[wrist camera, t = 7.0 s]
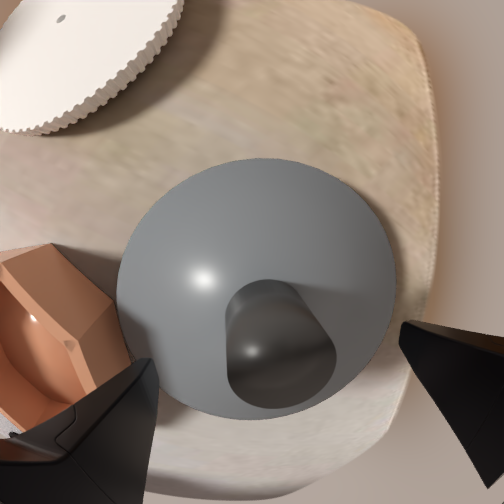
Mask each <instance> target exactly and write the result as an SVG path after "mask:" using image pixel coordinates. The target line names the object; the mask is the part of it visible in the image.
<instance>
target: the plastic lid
mask: <svg viewBox="0 0 504 504" xmlns="http://www.w3.org/2000/svg"><path fill="white" fill-rule="evenodd" d="M182 5H184V0H23V1H22V2H21V3H20V4H19V6H18V7H17V8H15V9H14V12H13V13H12V14H11V15H10V16H9V17H8V20H7V21H6V22H5V23H4V24H3V27H2V28H1V29H0V130H3V131H5V132H10V133H15V134H19V135H24V136H27V135H29V136H34V135H38V136H40V135H42V133H44V134H49V133H50V131H54V132H56V131H58V130H59V128H60V127H61V128H66V127H68V124H69V123H72V124H75V123H77V120H78V119H79V118H82V119H84V118H86V117H87V114H88V113H89V112H92V113H94V112H95V111H97V107H98V106H100V105H102V106H104V105H105V104H107V100H108V99H109V98H114V97H116V96H117V92H118V91H119V90H124V89H125V88H126V87H127V83H128V82H130V81H132V82H133V81H134V80H135V79H136V78H137V77H136V75H137V74H138V73H139V72H141V73H142V72H143V71H144V70H145V66H146V65H147V64H148V63H149V64H150V63H152V61H153V60H154V59H153V57H154V55H156V54H159V53H160V52H161V49H160V48H161V46H164V45H166V43H167V37H171V36H172V34H173V32H172V29H173V28H176V27H177V20H180V18H181V15H180V12H183V6H182Z"/></svg>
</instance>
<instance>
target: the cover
mask: <svg viewBox="0 0 504 504" xmlns="http://www.w3.org/2000/svg"><path fill="white" fill-rule="evenodd" d="M116 294H117V311H118V316H119V321H120V326H121V329H122V332H123V335H124V338H125V341H126V343H127V345H128V347H129V349H130V351H131V353H132V355H133V357H134V358H135V360H136V361H137V360H138V359H140V358H152V359H153V360H154V363H155V366H156V370H157V373H158V376H159V387H160V388H161V389H162V390H163V391H165V392H166V393H167V394H169V395H170V396H172V397H173V398H175V399H176V400H178V401H179V402H181V403H183V404H185V405H187V406H189V407H191V408H193V409H196V410H199V411H201V412H204V413H207V414H210V415H214V416H219V417H223V418H230V419H238V420H262V419H272V418H277V417H282V416H287V415H290V414H294V413H297V412H300V411H303V410H305V409H308V408H310V407H312V406H315V405H317V404H319V403H321V402H322V401H324V400H326V399H328V398H329V397H331V396H332V395H334V394H335V393H337V392H338V391H340V390H341V389H342V388H344V387H345V386H346V385H347V384H348V383H350V382H351V381H352V380H353V379H354V378H355V377H356V376H357V375H358V374H359V373H360V372H361V371H362V370H363V369H364V367H365V366H366V365H367V364H368V362H369V361H370V360H371V358H372V357H373V356H374V354H375V352H376V351H377V349H378V347H379V346H380V344H381V342H382V340H383V338H384V336H385V333H386V331H387V329H388V326H389V323H390V320H391V317H392V313H393V309H394V303H395V297H396V269H395V262H394V257H393V253H392V248H391V245H390V243H389V240H388V237H387V235H386V232H385V230H384V229H383V227H382V225H381V223H380V221H379V219H378V218H377V216H376V215H375V213H374V212H373V211H372V210H371V208H370V207H369V206H368V204H367V203H366V202H365V201H364V200H363V199H362V198H361V197H360V196H359V195H358V194H357V193H356V192H355V191H354V190H353V189H351V188H350V187H349V186H347V185H346V184H344V183H343V182H342V181H340V180H339V179H337V178H336V177H334V176H332V175H330V174H328V173H326V172H324V171H322V170H320V169H317V168H314V167H311V166H308V165H305V164H302V163H299V162H293V161H288V160H282V159H262V158H255V159H247V160H239V161H232V162H229V163H225V164H221V165H218V166H214V167H211V168H209V169H207V170H204V171H202V172H200V173H198V174H195V175H193V176H191V177H189V178H188V179H186V180H185V181H183V182H181V183H180V184H178V185H177V186H175V187H174V188H172V189H171V190H170V191H169V192H167V193H166V194H165V195H164V196H163V197H162V198H161V199H159V200H158V201H157V202H156V203H155V204H154V205H153V206H152V208H151V209H150V210H149V211H148V212H147V213H146V215H145V216H144V217H143V218H142V219H141V221H140V223H139V224H138V226H137V227H136V229H135V231H134V232H133V234H132V236H131V237H130V240H129V242H128V244H127V247H126V249H125V252H124V254H123V257H122V261H121V265H120V269H119V273H118V281H117V291H116Z"/></svg>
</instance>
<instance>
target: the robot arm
mask: <svg viewBox="0 0 504 504" xmlns="http://www.w3.org/2000/svg"><path fill="white" fill-rule="evenodd" d="M399 346H400V348H401V350H402V352H403V353H404V355H405V357H406V359H407V360H408V362H409V364H410V366H411V368H412V369H413V371H414V373H415V375H416V376H417V378H418V379H419V380H420V382H421V383H422V385H423V386H424V388H425V389H426V390H427V392H428V393H429V395H430V396H431V398H432V399H433V401H434V402H435V404H436V405H437V407H438V408H439V410H440V411H441V413H442V414H443V416H444V417H445V419H446V420H447V422H448V423H449V425H450V426H451V428H452V430H453V431H454V433H455V434H456V436H457V438H458V439H459V441H460V443H461V444H462V446H463V447H464V449H465V450H466V453H467V454H468V456H469V458H470V459H471V461H472V463H473V465H474V467H475V468H476V470H477V472H478V474H479V475H480V477H481V479H482V481H483V483H484V484H485V486H486V487H487V489H489V488H490V487H491V486H492V485H493V484H494V483H495V482H496V481H497V480H499V479H500V478H501V477H502V476H503V475H504V337H499V336H493V335H486V334H482V333H476V332H470V331H465V330H460V329H455V328H450V327H445V326H440V325H435V324H430V323H426V322H421V321H416V320H408V321H405V322H403V323H402V325H401V330H400V336H399ZM158 394H159V376H158V373H157V370H156V366H155V363H154V360H153V359H152V358H140V359H138V360H137V361H135V362H134V363H133V364H131V365H130V366H128V367H127V368H125V369H124V370H123V371H121V372H120V373H118V374H117V375H115V376H114V377H112V378H111V379H109V380H108V381H107V382H105V383H104V384H102V385H101V386H99V387H98V388H96V389H95V390H93V391H92V392H90V393H89V394H87V395H86V396H84V397H83V398H82V399H80V400H79V401H77V402H76V403H74V405H73V404H72V405H71V406H69V407H68V408H67V409H65V410H63V411H62V412H60V413H59V414H57V415H55V416H54V417H52V418H50V419H48V420H46V421H45V422H43V423H41V424H39V425H37V426H35V427H33V428H31V429H29V430H27V431H25V432H23V433H21V434H19V435H17V434H15V433H12V432H10V433H9V436H10V437H11V438H8V439H0V504H143V496H144V489H145V483H146V476H147V470H148V464H149V458H150V452H151V447H152V441H153V436H154V431H155V425H156V419H157V407H158ZM502 504H504V502H503V503H502Z"/></svg>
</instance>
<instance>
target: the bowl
mask: <svg viewBox="0 0 504 504" xmlns="http://www.w3.org/2000/svg"><path fill="white" fill-rule="evenodd" d="M130 365H131V361H130V358H129V355H128V351H127V348H126V345H125V342H124V338H123V335H122V331H121V328H120V324H119V320H118V317H117V313H116V309H115V305H114V300H112V299H111V298H110V297H109V296H107V295H106V294H105V293H104V292H103V291H101V290H100V289H99V288H98V287H97V286H96V285H95V284H93V283H92V282H91V281H90V280H89V279H88V278H87V277H86V276H84V275H83V274H82V273H81V272H80V271H79V270H78V269H77V268H76V267H75V266H74V265H73V264H72V263H70V262H69V261H68V260H67V259H66V258H65V257H64V256H63V255H62V254H61V253H60V252H59V251H58V250H57V249H56V248H55V247H54V246H53V245H52V244H51V243H50V244H43V245H37V246H31V247H25V248H19V249H13V250H8V251H2V252H0V412H1V413H2V414H3V415H4V416H5V417H6V418H7V419H8V420H9V421H10V422H12V423H13V424H14V425H15V426H16V427H17V428H18V429H20V430H21V431H22V432H25V431H27V430H29V429H31V428H33V427H35V426H37V425H39V424H41V423H43V422H45V421H46V420H48V419H50V418H52V417H54V416H55V415H57V414H59V413H60V412H62V411H63V410H65V409H67V408H68V407H69V406H71V405H72V404H73V405H74V403H76V402H77V401H79V400H80V399H82V398H83V397H84V396H86V395H87V394H89V393H90V392H92V391H93V390H95V389H96V388H98V387H99V386H101V385H102V384H104V383H105V382H107V381H108V380H109V379H111V378H112V377H114V376H115V375H117V374H118V373H120V372H121V371H123V370H124V369H125V368H127V367H128V366H130Z"/></svg>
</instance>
